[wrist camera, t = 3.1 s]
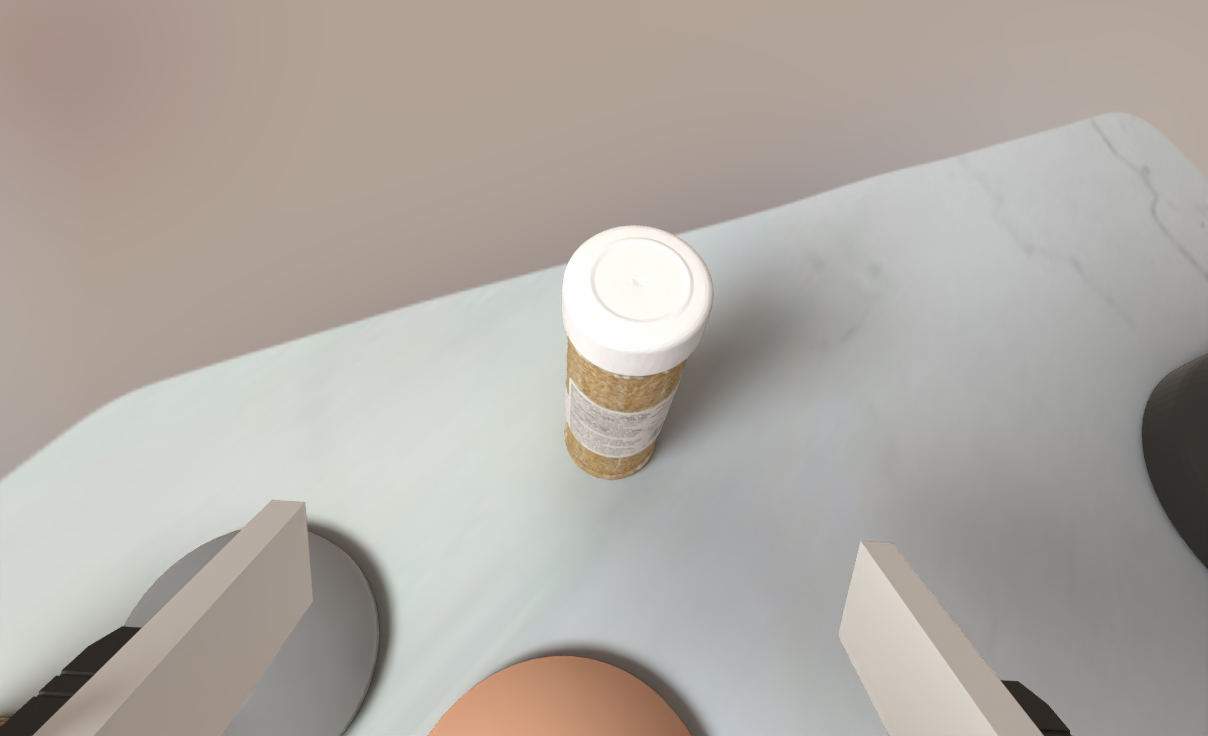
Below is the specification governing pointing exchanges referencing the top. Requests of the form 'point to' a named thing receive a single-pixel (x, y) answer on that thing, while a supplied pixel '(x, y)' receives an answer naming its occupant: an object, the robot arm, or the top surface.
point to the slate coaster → (299, 646)
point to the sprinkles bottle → (628, 342)
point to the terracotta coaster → (560, 703)
